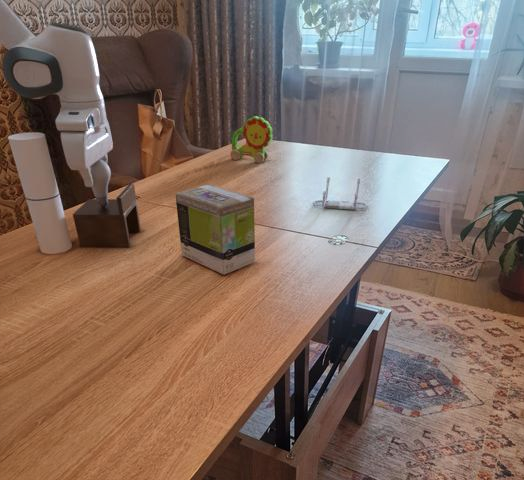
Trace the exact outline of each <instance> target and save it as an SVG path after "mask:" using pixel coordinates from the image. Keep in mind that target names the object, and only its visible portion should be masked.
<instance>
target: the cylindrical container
mask: <svg viewBox="0 0 524 480" xmlns="http://www.w3.org/2000/svg"><path fill="white" fill-rule="evenodd" d="M7 139H8V142H9V146H10V149H11V153H12V157H13V160H14V162H15V167H16V170H17V173H18V174H17V175H18V177H19V181H20V183H21V187H22V191H23V194H24V197H25V202H26V205H27V209H28V211H29V215H30V217H31V218H30V219H31V222H32V224H33V229H34V232H35V235H36V236H35V237H36V240H37V243H38V247H39V249H40V252H41V253H43V254H47V255H57V254H62V253H65V252H68V251H69V250H71V249H72V247H73V243H72V239H71V234H70V231H69V228H68V223H67V218H66V215H65V211H64V206H63V203H62V199H61V195H60V191H59V188H58V187H59V186H58V182H57V180H56V179H57V178H56V174H55V170H54V167H53V163H52V159H51V155H50V150H49V145H48V143H47V138H46V135H45V133H43V132H36V131H35V132H34V131H33V132H32V131H31V132H20V133H13V134H11V135H8V136H7Z"/></svg>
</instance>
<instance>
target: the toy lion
mask: <svg viewBox="0 0 524 480" xmlns="http://www.w3.org/2000/svg"><path fill="white" fill-rule="evenodd" d="M265 119H266V118H264V117H259V116H258V115H255V116H252V117H251V118H248V119H246V121H245V123H243V125H242V127H241V128H238V129H237V130H235V131H234V132H233V133H232V135H231V136H232V137H231V151H230V158H231V159H232V160H233V161H238V160H239V159H241V158H243V157H244V156H246V157H247V156H248V157H251V158H253V159H254V161H255V163H257V164H262V163H263V162H264V161H266V160H267V159H268V158H269V152H268V151H267V150H266V147H269V145H270V144H271V142H272V140H273V139H274V138H273V137H274V135H273V127H272V126H271V124H270V122H269V121H268V120H265ZM240 135H242V136H243V137H244V139H245V144H243V145H241V146H239V144H238V138H239V136H240Z"/></svg>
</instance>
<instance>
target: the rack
mask: <svg viewBox="0 0 524 480" xmlns="http://www.w3.org/2000/svg"><path fill="white" fill-rule="evenodd" d="M137 202H138V201H137V195H136V190H135V184H134V182H131V183H128V185H126V186H125V188H124V189H123V190H122V191H121V192H120V193H119V195H117V197H116V198H115V199H114V198H113V199H112V198H108V204H107V205H106V206H105V207H101V206H100V205H98V204H97V200H96V198H88V199H87V200H86V201H85V202H84V203H83V204H82V205H81V206H80V207H79V208H78V209H77V210H76V211H74V213H73V214H72V219H73V222H74V226H75V231H76V234H77V238H78V243H79V246H80V248H121V249H122V248H123V249H124V248H126V249H127V248H129V249H130V247H131V246H132V245H131V240H130V233H140V232H141V231H142V227H141V222H140V215H139V207H138V203H137Z"/></svg>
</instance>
